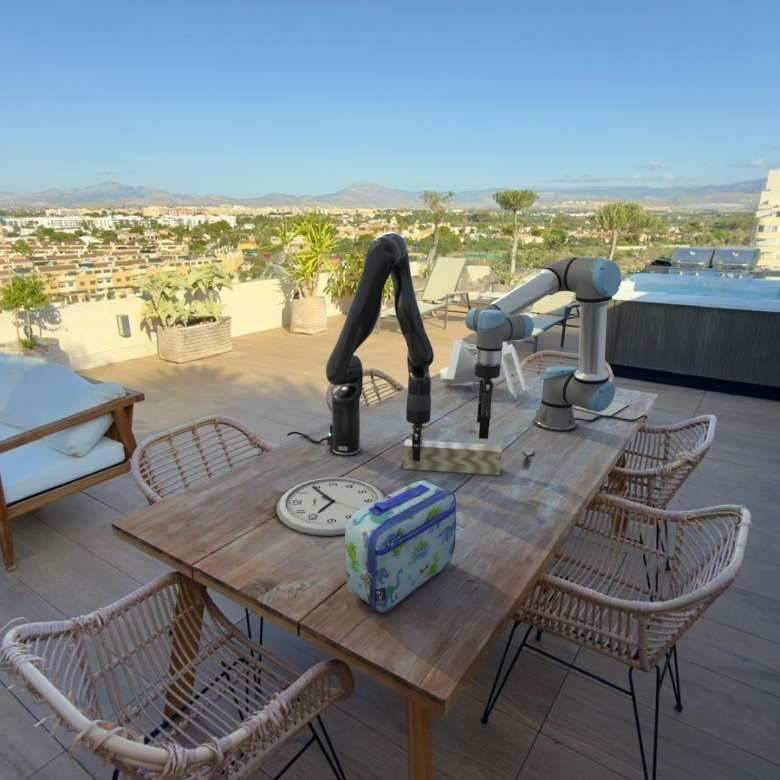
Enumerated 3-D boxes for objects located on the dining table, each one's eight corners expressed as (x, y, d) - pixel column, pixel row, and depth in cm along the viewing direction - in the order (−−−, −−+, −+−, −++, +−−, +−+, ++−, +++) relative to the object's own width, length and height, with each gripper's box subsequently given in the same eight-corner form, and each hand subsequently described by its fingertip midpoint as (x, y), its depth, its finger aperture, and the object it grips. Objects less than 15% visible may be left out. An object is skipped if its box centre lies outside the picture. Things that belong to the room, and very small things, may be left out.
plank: (498, 468, 167) (500, 445, 164) (499, 475, 162) (501, 451, 160) (404, 462, 170) (405, 439, 168) (403, 468, 165) (404, 445, 163)
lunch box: (374, 626, 100) (375, 530, 93) (338, 598, 107) (337, 508, 101) (459, 568, 117) (465, 484, 111) (424, 547, 124) (427, 467, 118)
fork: (520, 467, 167) (520, 462, 166) (525, 449, 181) (526, 443, 181) (528, 469, 166) (529, 463, 165) (533, 450, 180) (533, 444, 180)
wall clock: (392, 527, 129) (268, 531, 127) (391, 533, 130) (269, 537, 127) (383, 473, 158) (282, 475, 155) (383, 478, 158) (282, 480, 156)
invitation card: (608, 416, 214) (573, 407, 224) (608, 416, 214) (573, 408, 224) (628, 404, 229) (594, 396, 238) (628, 405, 229) (594, 397, 238)
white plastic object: (461, 429, 252) (437, 405, 227) (444, 352, 274) (420, 323, 250) (535, 404, 240) (518, 377, 215) (510, 326, 262) (492, 293, 237)
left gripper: (408, 398, 168) (407, 447, 173) (404, 413, 155) (402, 465, 160) (431, 399, 167) (429, 448, 172) (429, 414, 154) (427, 467, 159)
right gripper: (473, 353, 167) (468, 415, 173) (476, 373, 143) (471, 444, 149) (497, 354, 166) (491, 417, 172) (504, 374, 142) (497, 446, 148)
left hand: (416, 456), depth 166 cm, fingers closed on plank, 5 cm apart
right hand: (482, 430), depth 161 cm, fingers open, 13 cm apart
